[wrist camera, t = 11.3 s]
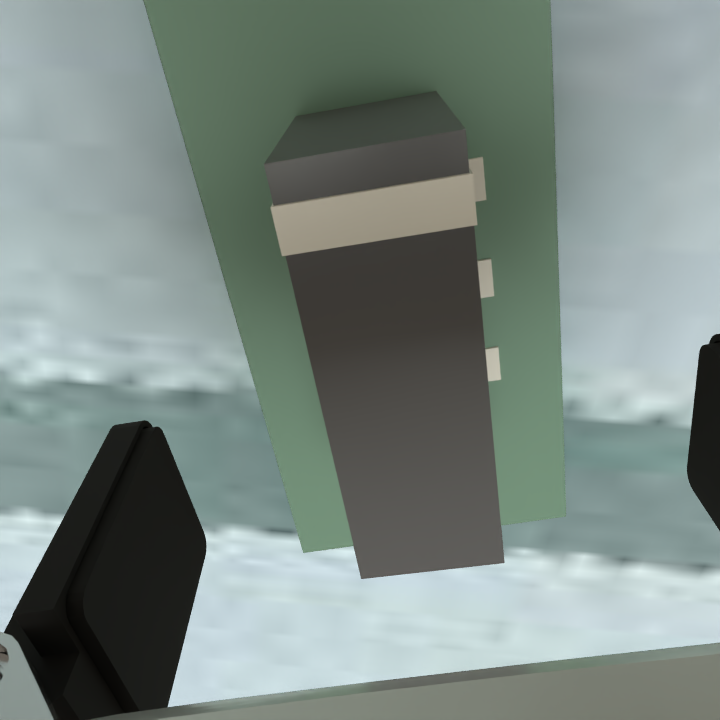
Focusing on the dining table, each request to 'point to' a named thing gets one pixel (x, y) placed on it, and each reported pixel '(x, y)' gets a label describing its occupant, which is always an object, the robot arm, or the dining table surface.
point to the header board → (491, 186)
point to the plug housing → (394, 326)
